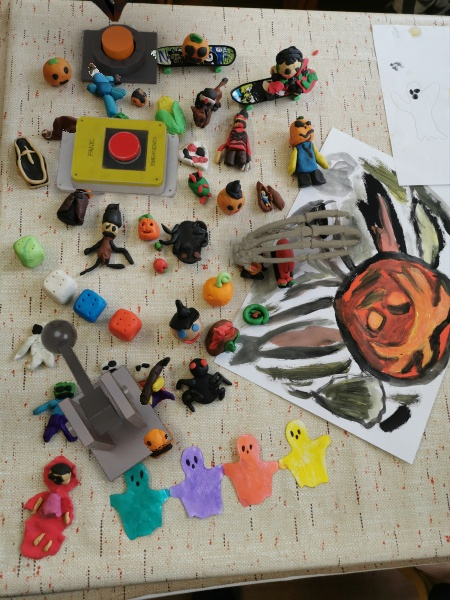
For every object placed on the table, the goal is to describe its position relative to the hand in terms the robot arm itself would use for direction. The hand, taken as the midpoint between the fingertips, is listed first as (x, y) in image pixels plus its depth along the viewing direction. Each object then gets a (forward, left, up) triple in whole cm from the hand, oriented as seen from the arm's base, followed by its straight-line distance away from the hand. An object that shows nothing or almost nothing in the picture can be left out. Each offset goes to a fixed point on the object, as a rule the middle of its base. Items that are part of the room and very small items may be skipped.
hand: (115, 18), depth 70 cm
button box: (0, 0, -7) cm, 7 cm away
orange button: (0, 0, -5) cm, 5 cm away
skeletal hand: (+35, -7, -7) cm, 36 cm away
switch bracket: (+32, -37, -7) cm, 49 cm away
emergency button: (+10, -12, -7) cm, 18 cm away
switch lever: (+28, -36, +3) cm, 46 cm away
